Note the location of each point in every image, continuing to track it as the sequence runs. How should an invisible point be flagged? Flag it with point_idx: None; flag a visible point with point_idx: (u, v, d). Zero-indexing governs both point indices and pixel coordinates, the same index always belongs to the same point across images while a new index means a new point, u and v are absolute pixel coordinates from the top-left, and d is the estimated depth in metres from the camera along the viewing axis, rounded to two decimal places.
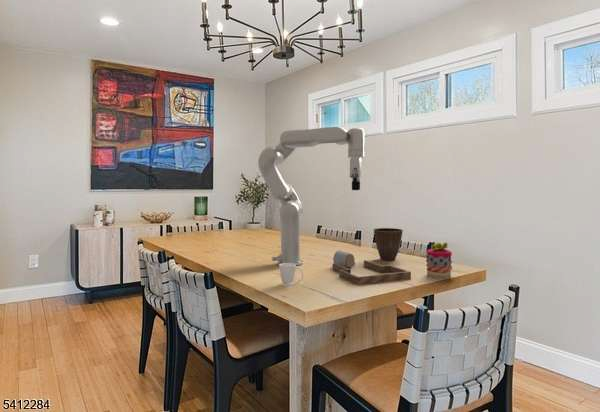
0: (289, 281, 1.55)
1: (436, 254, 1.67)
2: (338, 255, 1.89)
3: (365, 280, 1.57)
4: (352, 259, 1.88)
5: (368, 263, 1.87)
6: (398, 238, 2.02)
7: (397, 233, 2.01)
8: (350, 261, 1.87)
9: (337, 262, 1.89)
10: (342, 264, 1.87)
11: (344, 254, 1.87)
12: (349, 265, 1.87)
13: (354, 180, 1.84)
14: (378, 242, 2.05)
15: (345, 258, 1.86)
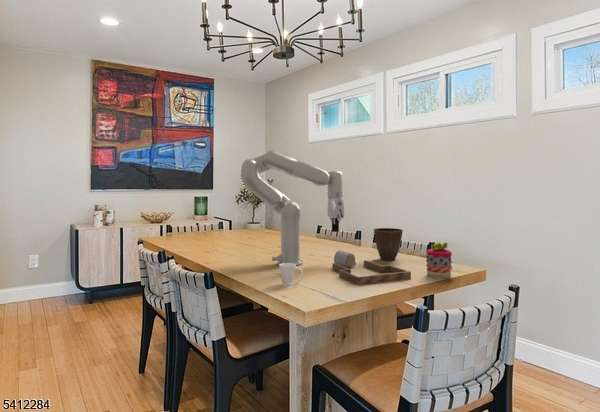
0: (289, 281, 1.55)
1: (436, 254, 1.67)
2: (339, 255, 1.89)
3: (365, 280, 1.57)
4: (353, 259, 1.89)
5: (368, 263, 1.87)
6: (398, 238, 2.02)
7: (397, 233, 2.01)
8: (351, 261, 1.88)
9: (338, 262, 1.89)
10: (343, 264, 1.87)
11: (345, 254, 1.88)
12: (350, 265, 1.87)
13: None
14: (378, 242, 2.05)
15: (346, 258, 1.86)
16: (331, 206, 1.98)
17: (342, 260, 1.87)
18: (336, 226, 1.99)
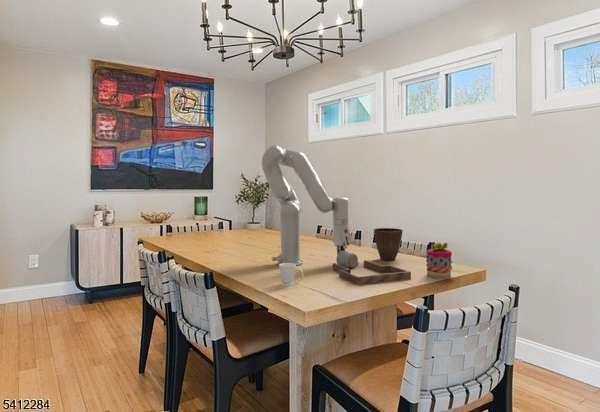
0: (289, 281, 1.55)
1: (436, 254, 1.67)
2: (341, 255, 1.88)
3: (365, 280, 1.57)
4: (355, 259, 1.88)
5: (368, 263, 1.87)
6: (398, 238, 2.02)
7: (397, 233, 2.01)
8: (353, 261, 1.87)
9: (340, 262, 1.88)
10: (345, 264, 1.86)
11: (347, 254, 1.87)
12: (352, 265, 1.86)
13: None
14: (378, 242, 2.05)
15: (348, 258, 1.85)
16: (337, 233, 1.94)
17: (344, 260, 1.86)
18: None
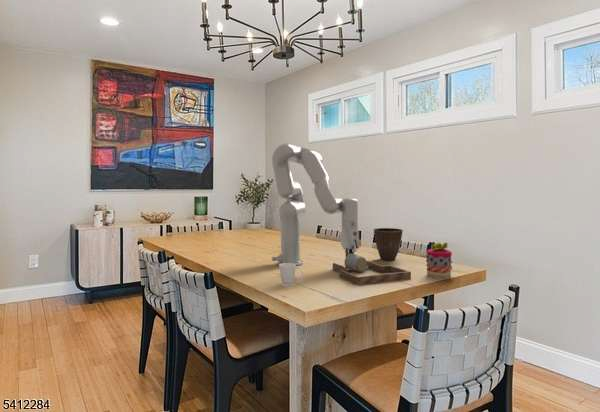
0: (289, 281, 1.55)
1: (436, 254, 1.67)
2: (349, 258, 1.80)
3: (365, 280, 1.57)
4: (364, 263, 1.79)
5: (368, 263, 1.87)
6: (398, 238, 2.02)
7: (397, 233, 2.01)
8: (361, 265, 1.78)
9: (348, 265, 1.80)
10: (353, 268, 1.78)
11: (355, 257, 1.78)
12: (360, 269, 1.78)
13: None
14: (378, 242, 2.05)
15: (356, 262, 1.77)
16: (345, 236, 1.85)
17: (352, 264, 1.78)
18: None
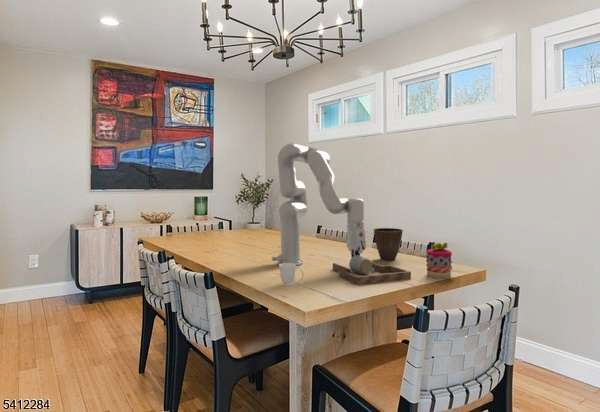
0: (289, 281, 1.55)
1: (436, 254, 1.67)
2: (354, 260, 1.76)
3: (365, 280, 1.57)
4: (369, 265, 1.74)
5: None
6: (398, 238, 2.02)
7: (397, 233, 2.01)
8: (366, 267, 1.73)
9: (353, 267, 1.76)
10: (357, 270, 1.73)
11: (360, 259, 1.74)
12: (365, 271, 1.73)
13: None
14: (378, 242, 2.05)
15: (360, 264, 1.72)
16: (351, 237, 1.81)
17: (356, 266, 1.73)
18: None
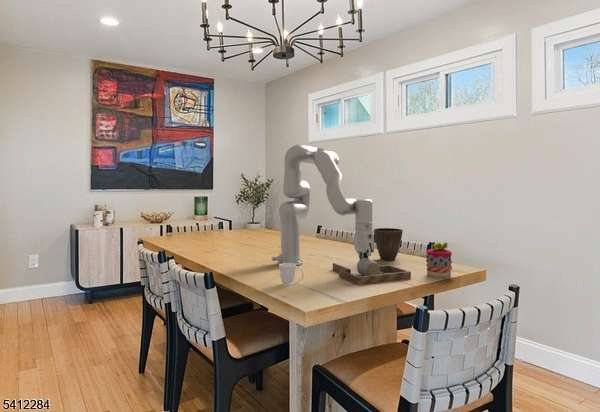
0: (289, 281, 1.55)
1: (436, 254, 1.67)
2: (361, 263, 1.69)
3: (365, 280, 1.57)
4: (377, 269, 1.67)
5: None
6: (398, 238, 2.02)
7: (397, 233, 2.01)
8: (373, 271, 1.66)
9: (360, 271, 1.69)
10: (364, 273, 1.67)
11: (367, 262, 1.67)
12: None
13: None
14: (378, 242, 2.05)
15: (367, 267, 1.65)
16: (359, 239, 1.74)
17: (363, 269, 1.67)
18: None
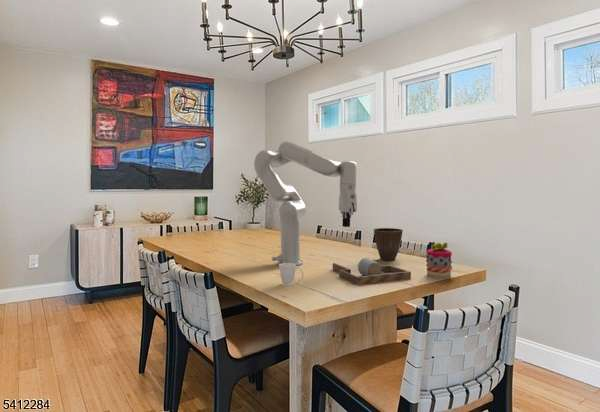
0: (289, 281, 1.55)
1: (436, 254, 1.67)
2: (362, 263, 1.69)
3: (365, 280, 1.57)
4: (378, 269, 1.67)
5: None
6: (398, 238, 2.02)
7: (397, 233, 2.01)
8: (374, 271, 1.66)
9: (361, 271, 1.70)
10: (365, 273, 1.67)
11: (368, 262, 1.67)
12: None
13: None
14: (378, 242, 2.05)
15: (368, 267, 1.66)
16: (343, 199, 1.84)
17: (364, 269, 1.67)
18: (347, 221, 1.85)
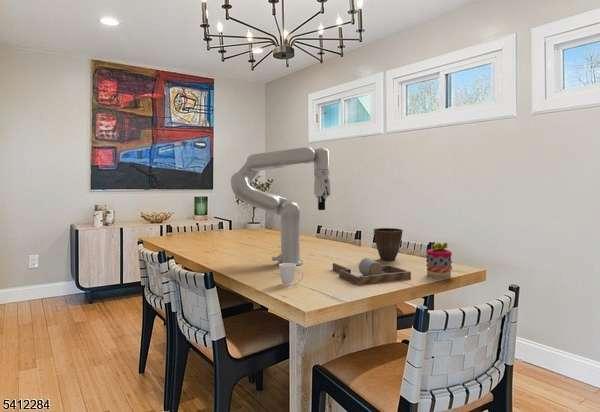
0: (289, 281, 1.55)
1: (436, 254, 1.67)
2: (363, 263, 1.70)
3: (365, 280, 1.57)
4: (379, 269, 1.67)
5: None
6: (398, 238, 2.02)
7: (397, 233, 2.01)
8: (375, 271, 1.66)
9: (362, 271, 1.70)
10: (366, 273, 1.67)
11: (369, 262, 1.67)
12: None
13: None
14: (378, 242, 2.05)
15: (369, 267, 1.66)
16: (317, 184, 1.96)
17: (365, 269, 1.67)
18: (322, 204, 1.97)
